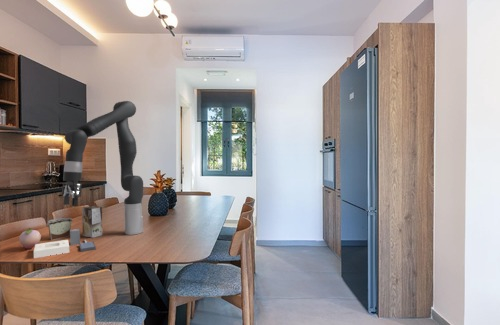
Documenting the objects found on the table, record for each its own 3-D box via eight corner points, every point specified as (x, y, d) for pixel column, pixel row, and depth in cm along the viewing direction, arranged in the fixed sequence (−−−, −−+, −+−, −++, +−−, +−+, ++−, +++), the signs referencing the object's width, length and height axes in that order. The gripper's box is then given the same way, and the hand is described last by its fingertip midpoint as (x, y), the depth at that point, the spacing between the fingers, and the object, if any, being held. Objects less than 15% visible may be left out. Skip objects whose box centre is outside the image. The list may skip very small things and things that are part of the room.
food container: (67, 234, 163) (66, 216, 163) (72, 235, 160) (72, 217, 159) (42, 239, 152) (42, 221, 152) (48, 241, 149) (47, 222, 149)
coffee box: (103, 235, 160) (102, 206, 160) (92, 238, 154) (91, 208, 154) (92, 233, 164) (92, 205, 164) (81, 236, 159) (81, 207, 158)
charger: (79, 242, 147) (79, 228, 147) (80, 244, 143) (79, 230, 143) (70, 243, 144) (70, 229, 144) (70, 245, 141) (70, 231, 141)
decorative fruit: (42, 248, 136) (42, 228, 136) (20, 252, 131) (20, 231, 130) (39, 244, 143) (39, 224, 143) (18, 248, 137) (18, 227, 137)
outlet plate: (68, 245, 141) (68, 239, 141) (69, 252, 130) (69, 245, 130) (35, 250, 134) (35, 244, 133) (33, 258, 123) (33, 251, 123)
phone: (91, 239, 150) (91, 237, 150) (95, 249, 134) (95, 246, 134) (78, 241, 147) (78, 239, 147) (81, 251, 131) (81, 249, 131)
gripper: (88, 171, 135) (85, 206, 134) (74, 171, 143) (71, 203, 142) (71, 171, 129) (68, 206, 128) (57, 170, 137) (54, 204, 136)
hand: (70, 205), depth 135 cm, fingers open, 8 cm apart
